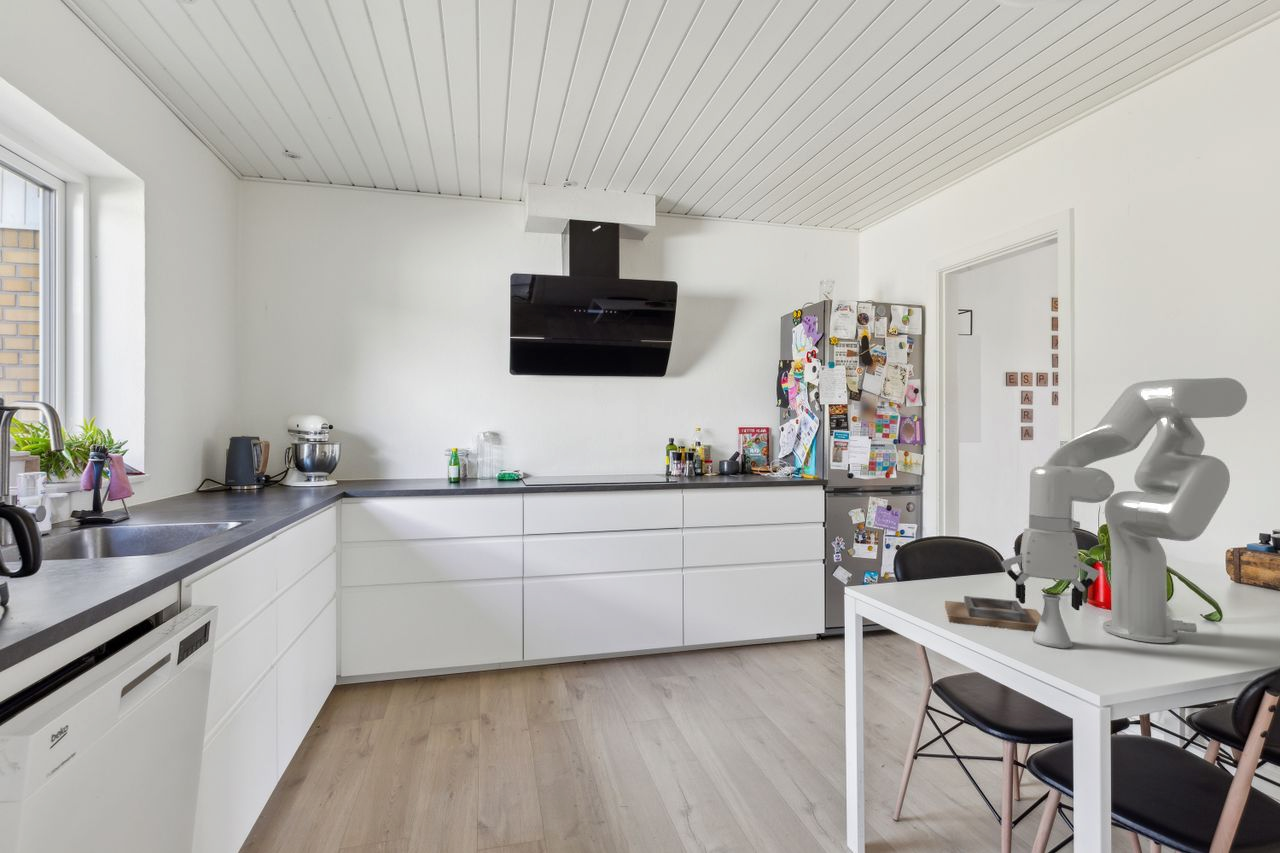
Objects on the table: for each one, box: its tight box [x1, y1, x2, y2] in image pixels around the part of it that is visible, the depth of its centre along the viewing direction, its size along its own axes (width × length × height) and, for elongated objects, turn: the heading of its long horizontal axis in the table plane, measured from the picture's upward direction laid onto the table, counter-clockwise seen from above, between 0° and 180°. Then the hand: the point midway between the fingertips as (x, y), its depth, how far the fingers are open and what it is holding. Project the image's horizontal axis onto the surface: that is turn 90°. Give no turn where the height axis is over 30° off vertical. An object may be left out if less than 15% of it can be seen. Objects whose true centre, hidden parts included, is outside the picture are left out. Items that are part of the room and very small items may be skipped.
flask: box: [1032, 593, 1073, 649], centre depth 127 cm, size 7×7×10 cm
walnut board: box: [944, 595, 1042, 633], centre depth 144 cm, size 20×14×4 cm
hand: (1048, 605), depth 127 cm, fingers open, 9 cm apart
